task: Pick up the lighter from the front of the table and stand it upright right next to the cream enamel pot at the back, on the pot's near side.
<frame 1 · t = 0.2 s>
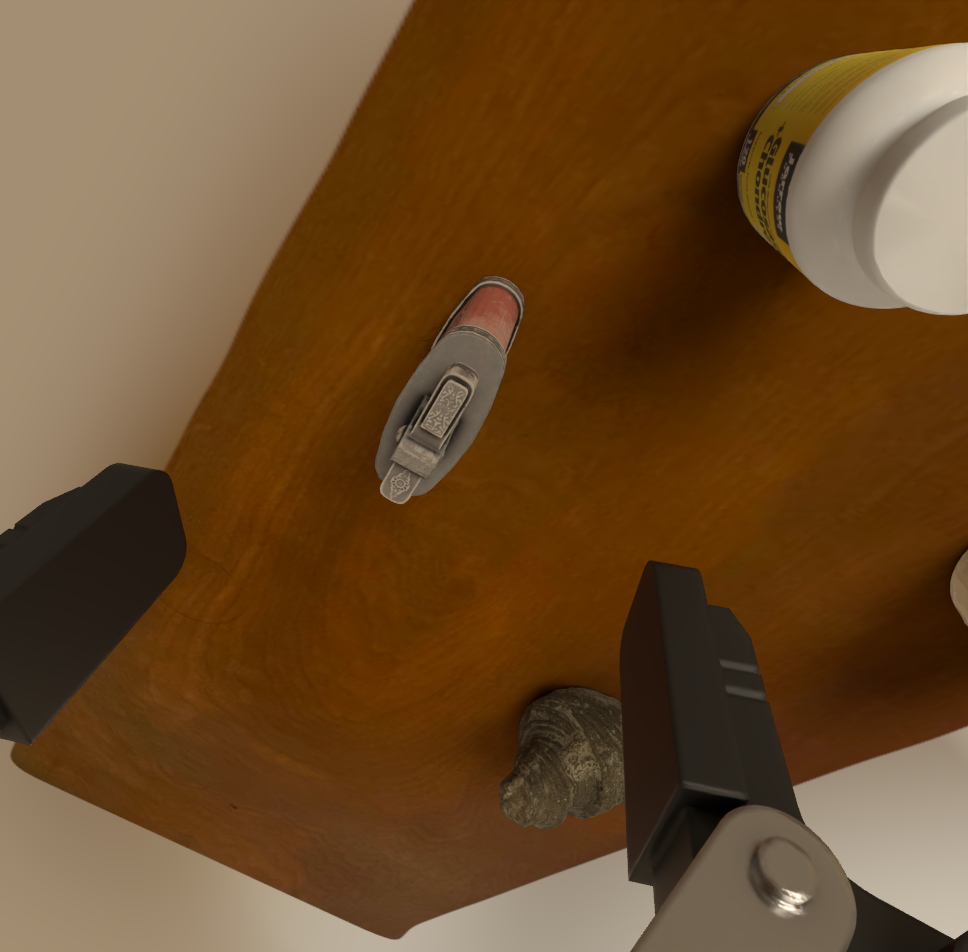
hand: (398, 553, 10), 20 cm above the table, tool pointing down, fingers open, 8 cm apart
lighter: (469, 349, 29), on the table
seashell: (593, 725, 44), on the table
pill bottle: (820, 158, 23), on the table
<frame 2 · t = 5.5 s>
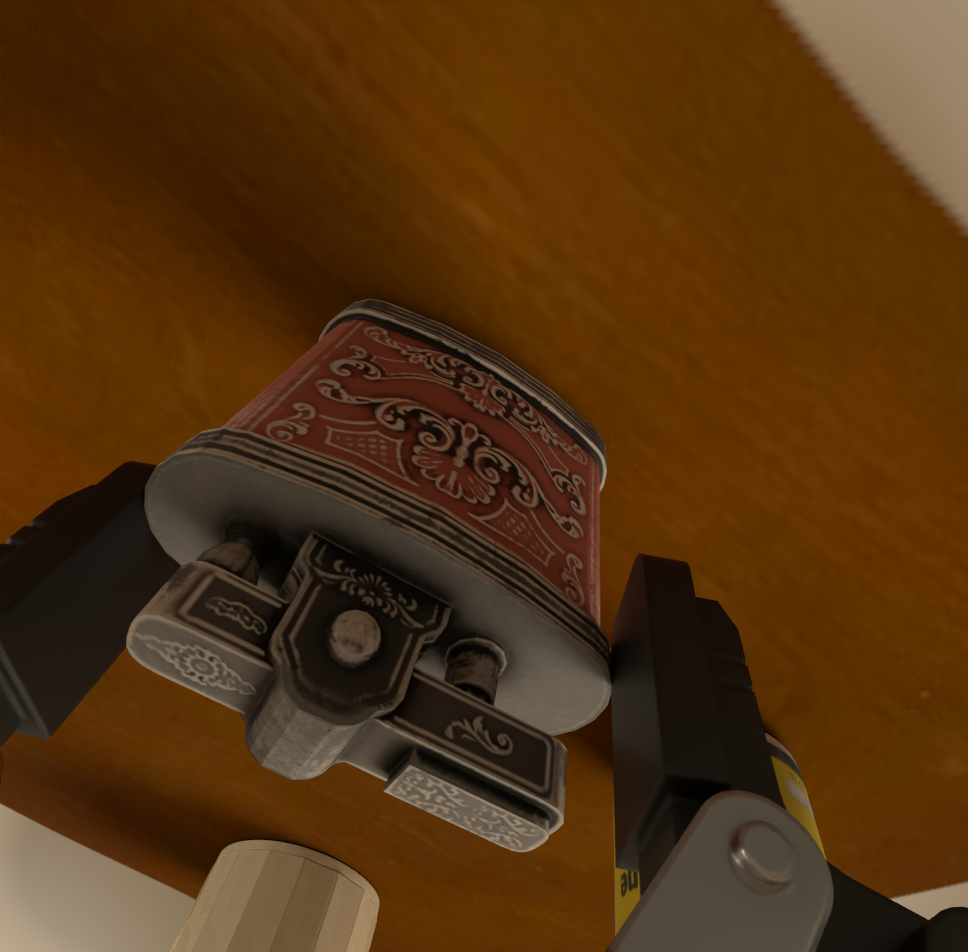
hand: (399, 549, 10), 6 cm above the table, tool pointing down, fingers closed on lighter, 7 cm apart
lighter: (470, 402, 16), on the table, touching gripper
pill bottle: (699, 756, 22), on the table
pot: (298, 883, 34), on the table
when the fingers open (6 cm above the table, at t = 13.0 s): lighter stays where it is, on the table.
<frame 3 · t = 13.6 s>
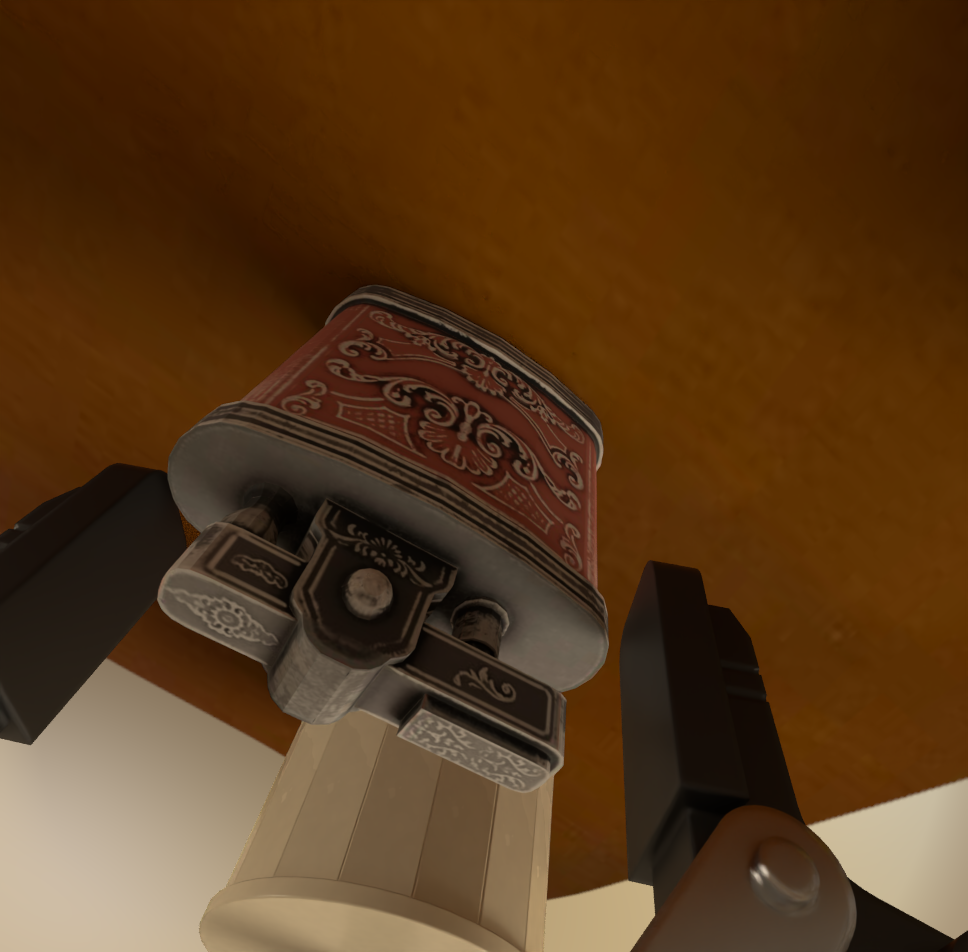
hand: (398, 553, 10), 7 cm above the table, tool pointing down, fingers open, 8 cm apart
lighter: (471, 385, 16), on the table
pot: (438, 708, 24), on the table
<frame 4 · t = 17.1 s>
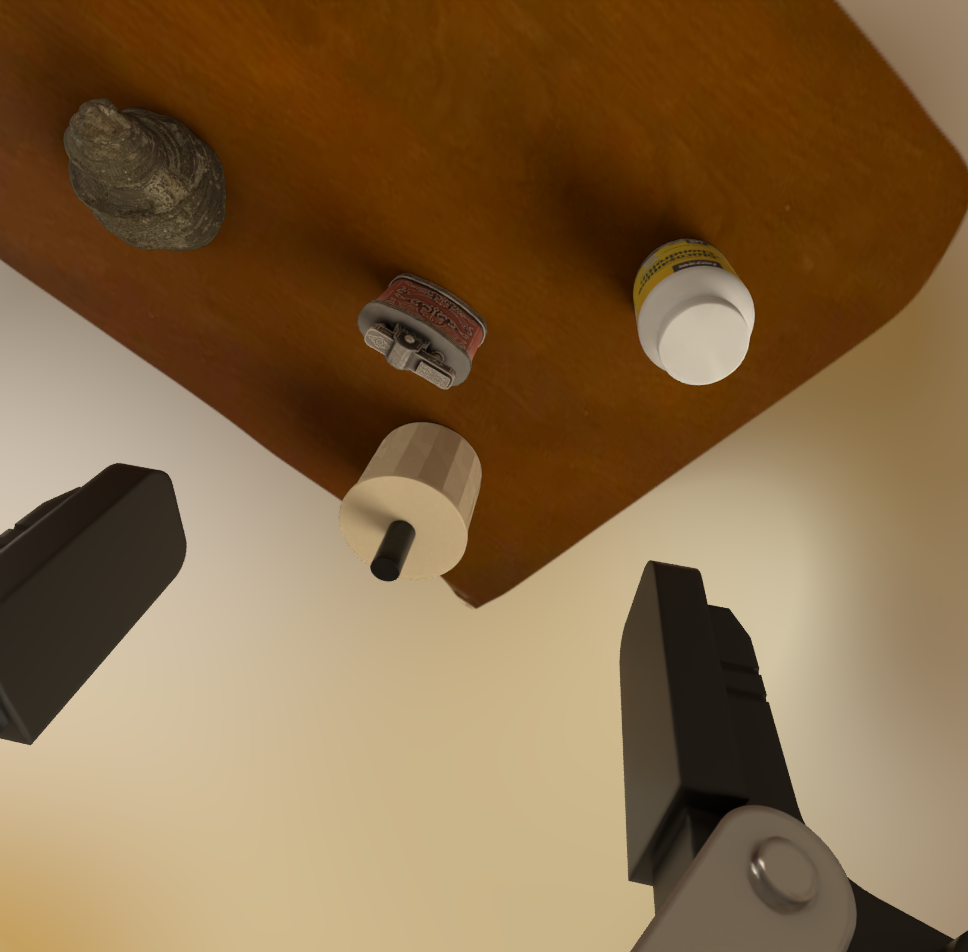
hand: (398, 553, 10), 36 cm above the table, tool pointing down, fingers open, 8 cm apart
pot lid: (403, 527, 46), point 8 cm above the table, touching pot
lighter: (439, 309, 45), on the table
seashell: (166, 196, 44), on the table
pill bottle: (679, 284, 41), on the table
pot: (429, 469, 53), on the table
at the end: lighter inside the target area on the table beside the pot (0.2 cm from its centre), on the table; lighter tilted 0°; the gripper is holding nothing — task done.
